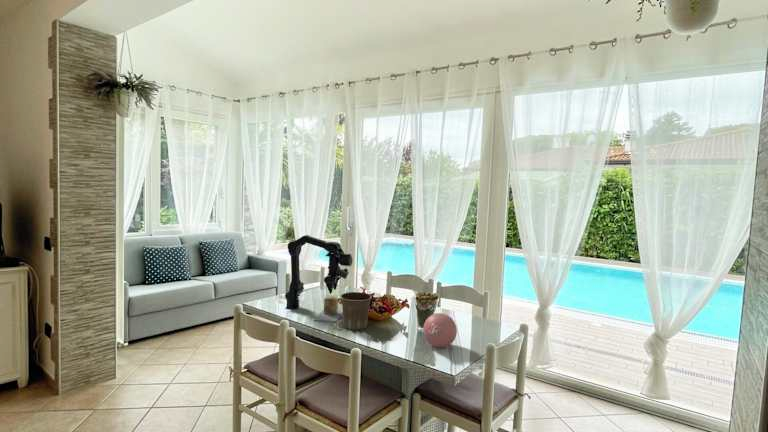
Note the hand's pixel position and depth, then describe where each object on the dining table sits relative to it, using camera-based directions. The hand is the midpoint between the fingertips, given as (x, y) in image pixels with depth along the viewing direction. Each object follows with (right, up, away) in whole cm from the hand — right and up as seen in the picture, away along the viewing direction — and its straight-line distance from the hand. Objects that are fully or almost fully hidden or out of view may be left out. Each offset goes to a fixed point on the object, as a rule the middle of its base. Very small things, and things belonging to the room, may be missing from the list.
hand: (332, 291), depth 232 cm
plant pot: (+14, -14, -21) cm, 30 cm away
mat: (-1, -13, -7) cm, 14 cm away
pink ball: (+54, -17, -47) cm, 73 cm away
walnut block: (-1, -12, -3) cm, 12 cm away
